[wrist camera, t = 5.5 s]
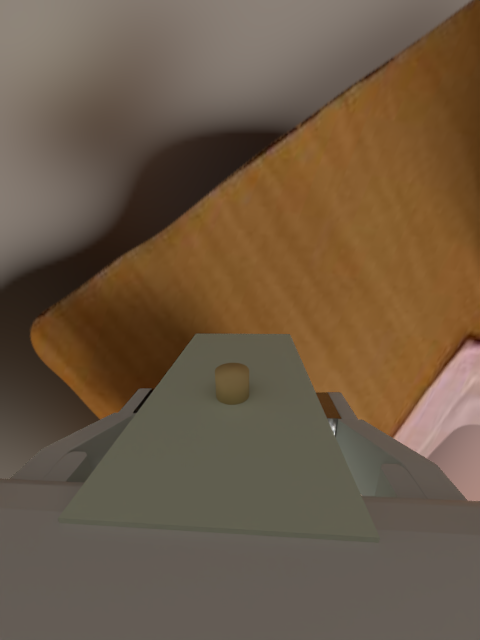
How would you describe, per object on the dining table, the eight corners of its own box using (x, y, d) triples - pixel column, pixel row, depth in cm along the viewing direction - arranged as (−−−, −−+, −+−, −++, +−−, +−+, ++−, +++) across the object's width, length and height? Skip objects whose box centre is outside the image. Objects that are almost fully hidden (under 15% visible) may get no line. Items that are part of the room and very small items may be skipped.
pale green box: (290, 319, 12) (389, 496, 3) (285, 426, 14) (339, 726, 5) (194, 319, 12) (46, 479, 3) (202, 423, 14) (116, 700, 5)
